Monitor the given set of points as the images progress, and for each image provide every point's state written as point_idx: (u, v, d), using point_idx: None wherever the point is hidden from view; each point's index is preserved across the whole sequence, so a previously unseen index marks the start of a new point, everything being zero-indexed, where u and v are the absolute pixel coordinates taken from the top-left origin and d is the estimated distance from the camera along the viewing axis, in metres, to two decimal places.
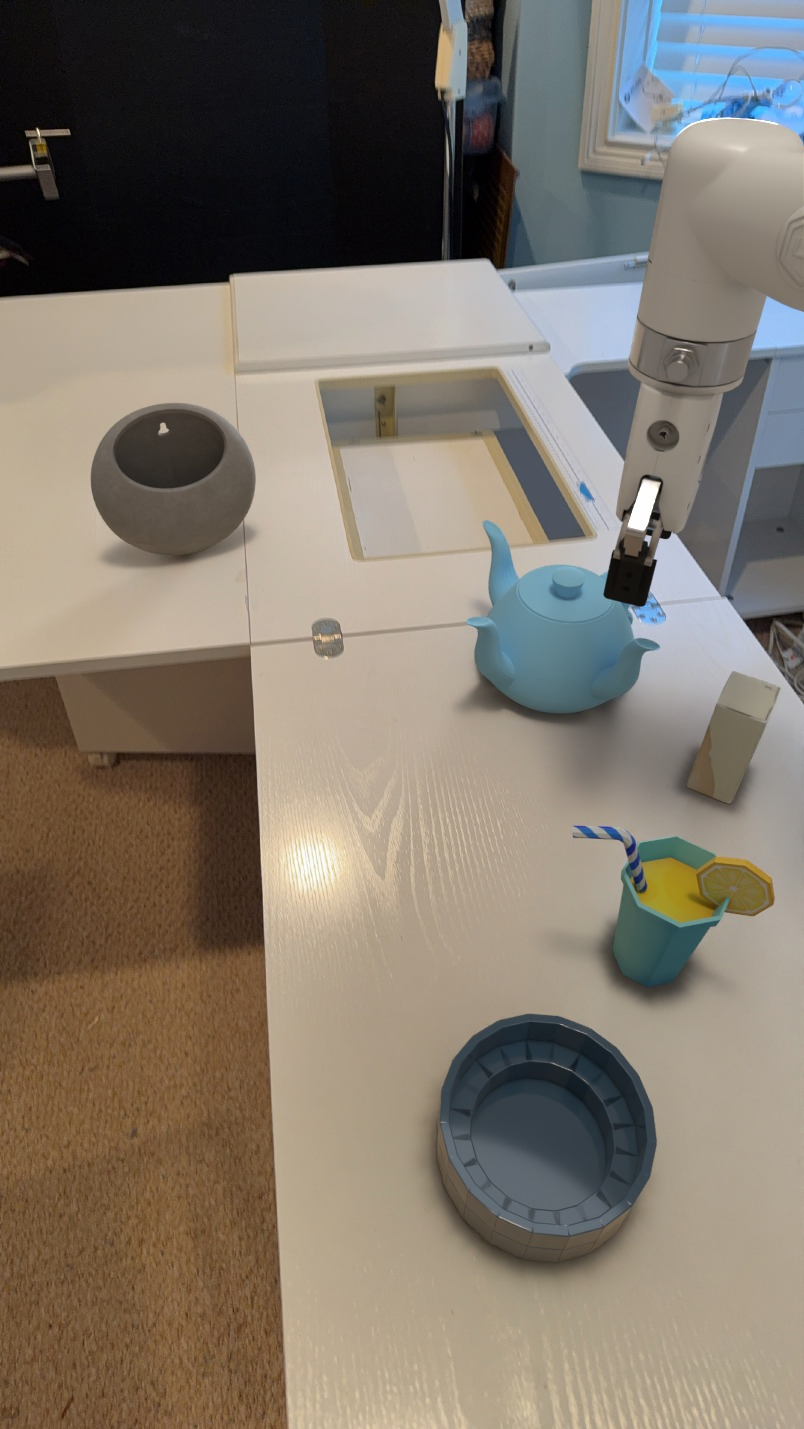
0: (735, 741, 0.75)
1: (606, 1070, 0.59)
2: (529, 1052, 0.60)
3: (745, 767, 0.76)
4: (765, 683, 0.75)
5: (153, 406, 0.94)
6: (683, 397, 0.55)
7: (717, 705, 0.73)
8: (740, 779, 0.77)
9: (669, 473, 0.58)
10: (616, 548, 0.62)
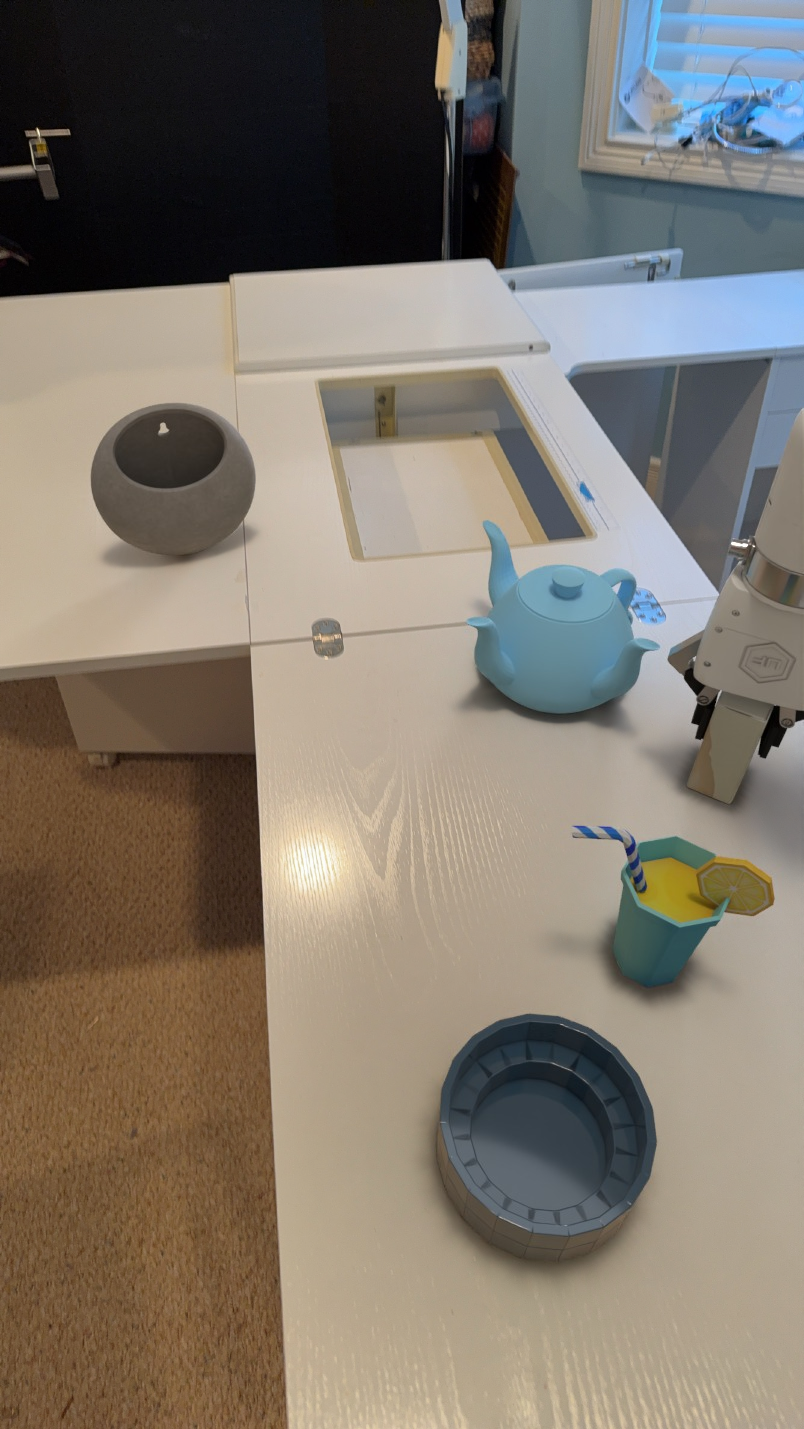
0: (735, 741, 0.75)
1: (606, 1070, 0.59)
2: (529, 1052, 0.60)
3: (745, 767, 0.76)
4: None
5: (153, 406, 0.94)
6: (736, 575, 0.67)
7: (717, 705, 0.73)
8: (740, 779, 0.77)
9: (707, 624, 0.70)
10: None
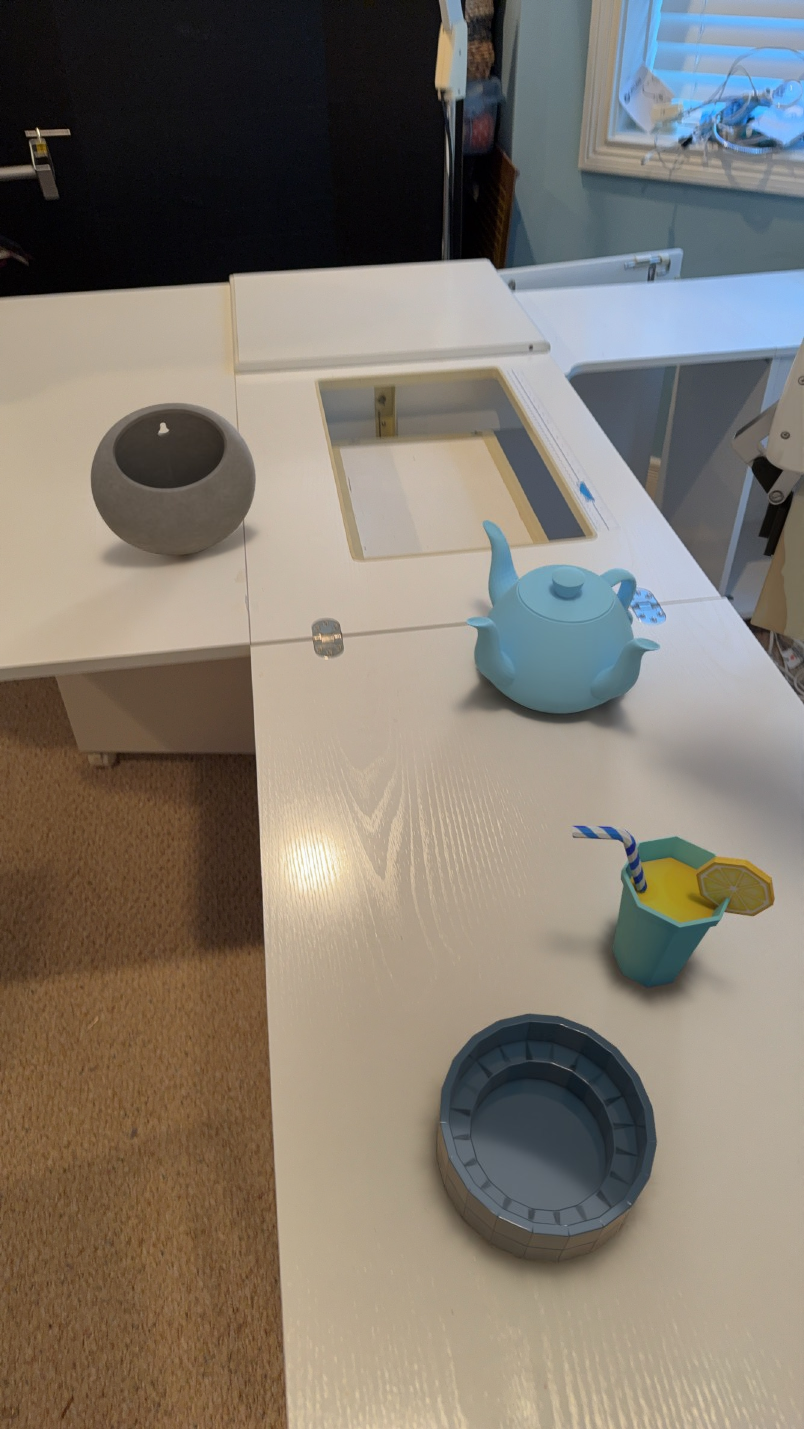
0: None
1: (606, 1070, 0.59)
2: (529, 1052, 0.60)
3: None
4: None
5: (153, 406, 0.94)
6: None
7: (795, 498, 0.58)
8: None
9: (785, 383, 0.55)
10: None
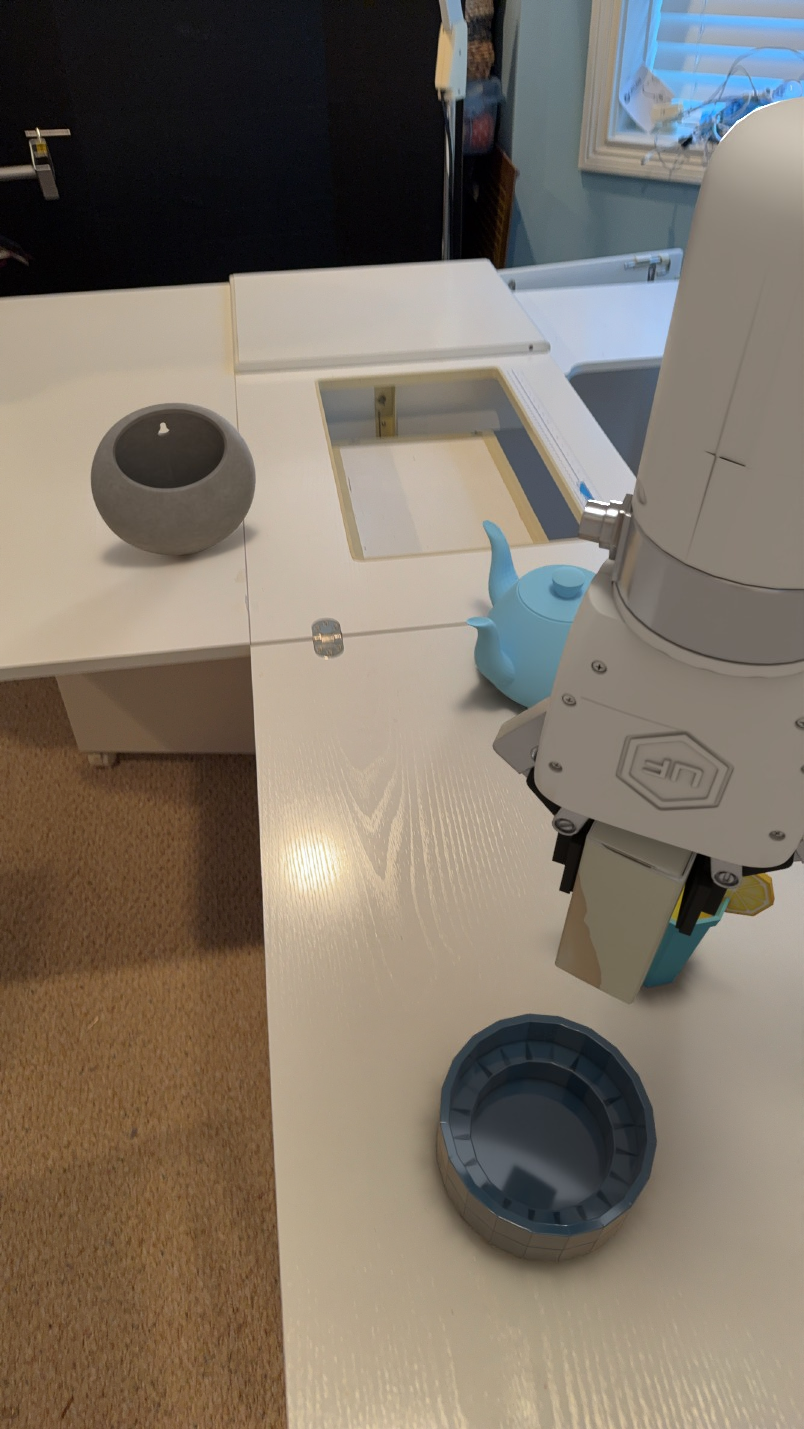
0: (629, 908, 0.38)
1: (606, 1070, 0.59)
2: (529, 1052, 0.60)
3: (651, 951, 0.39)
4: None
5: (153, 406, 0.94)
6: (600, 583, 0.30)
7: (588, 840, 0.37)
8: (644, 969, 0.40)
9: None
10: None
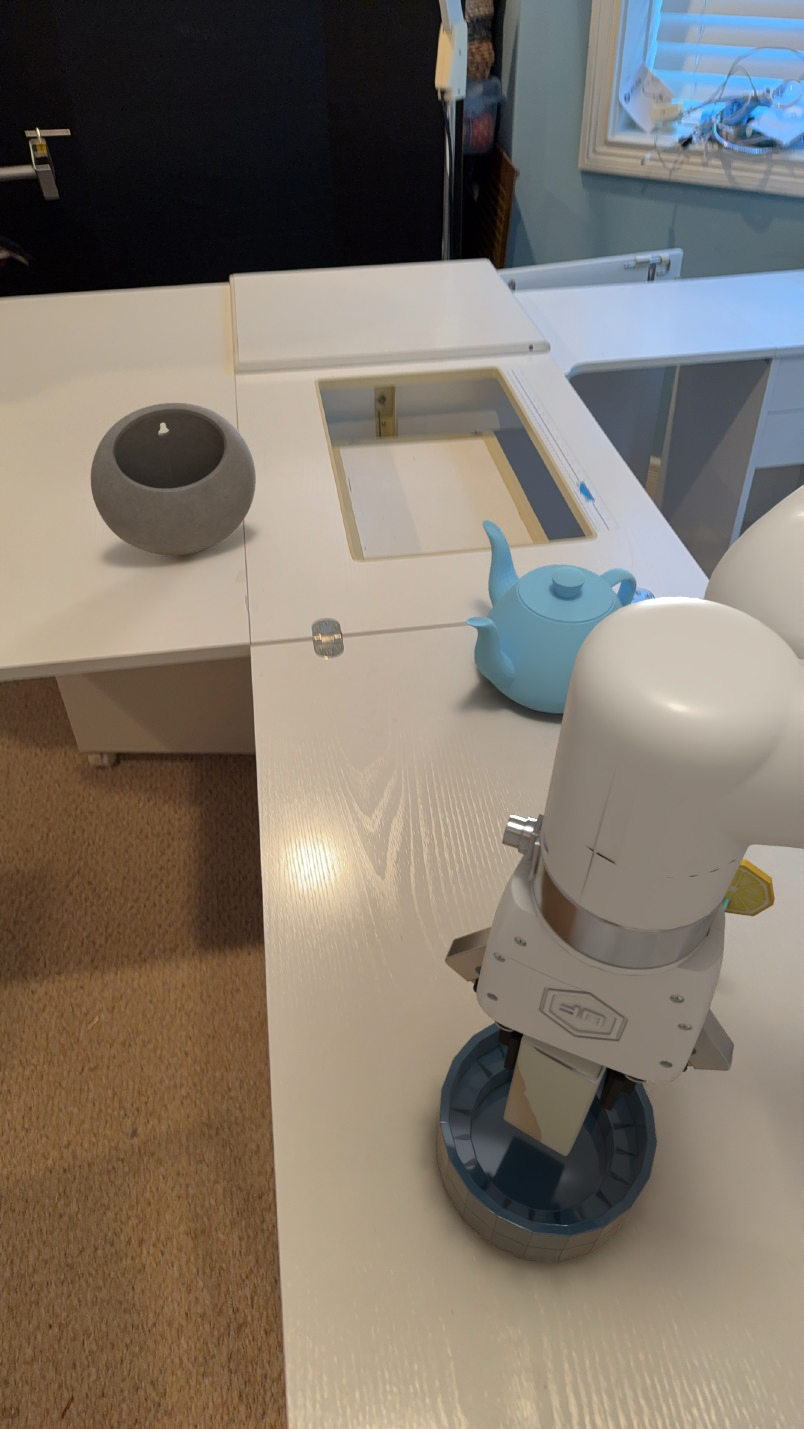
0: (558, 1092, 0.46)
1: (606, 1070, 0.59)
2: None
3: (578, 1124, 0.47)
4: None
5: (153, 406, 0.94)
6: (521, 875, 0.38)
7: (522, 1043, 0.45)
8: (574, 1134, 0.48)
9: None
10: None
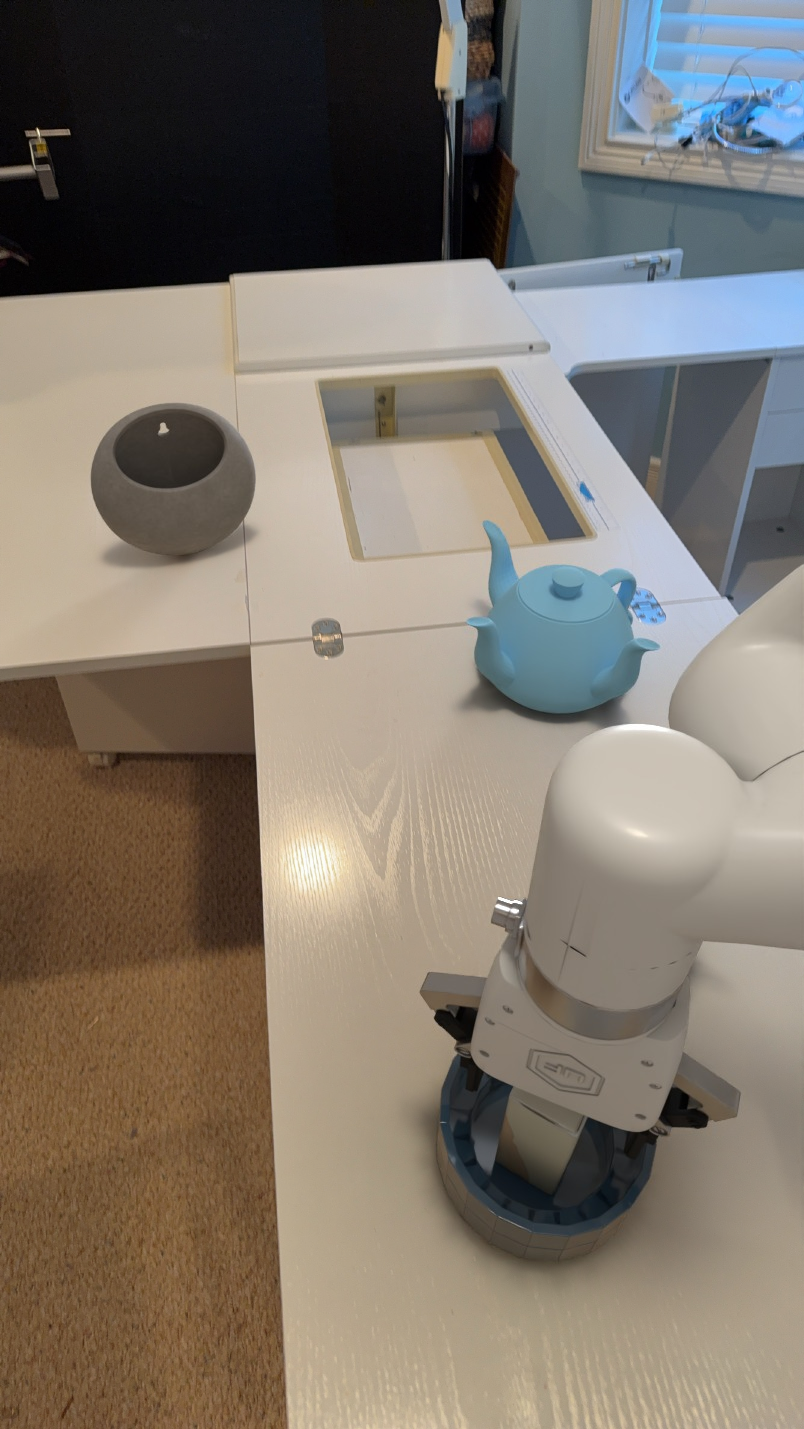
0: (543, 1142, 0.51)
1: None
2: None
3: (561, 1169, 0.52)
4: None
5: (153, 406, 0.94)
6: (508, 949, 0.42)
7: (510, 1099, 0.50)
8: (558, 1177, 0.53)
9: None
10: None
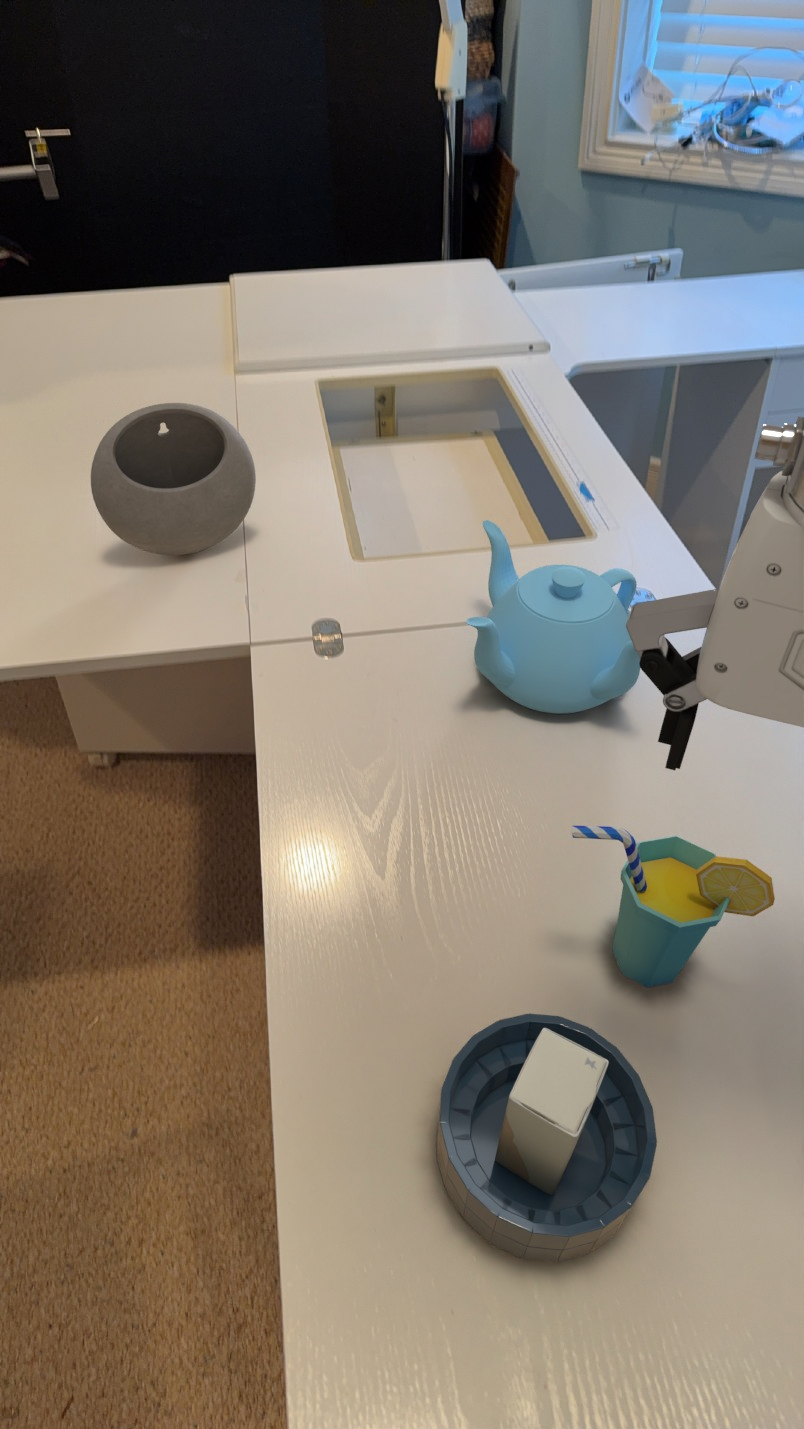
0: (543, 1142, 0.51)
1: (606, 1070, 0.59)
2: (529, 1052, 0.60)
3: (561, 1169, 0.52)
4: (587, 1054, 0.51)
5: (153, 406, 0.94)
6: (771, 498, 0.35)
7: (510, 1099, 0.50)
8: (558, 1177, 0.53)
9: (718, 596, 0.38)
10: None
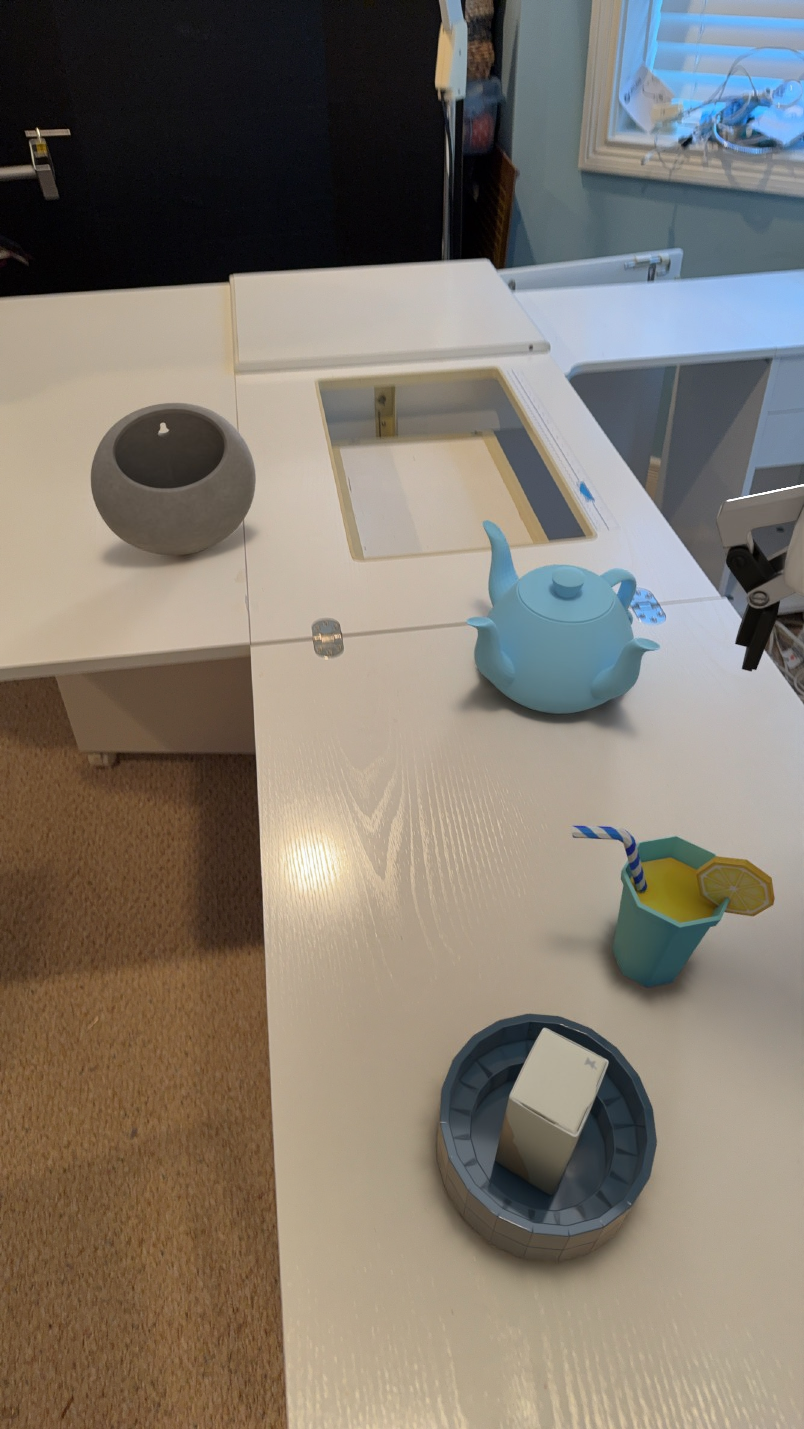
0: (543, 1142, 0.51)
1: (606, 1070, 0.59)
2: (529, 1052, 0.60)
3: (561, 1169, 0.52)
4: (587, 1054, 0.51)
5: (153, 406, 0.94)
6: None
7: (510, 1099, 0.50)
8: (558, 1177, 0.53)
9: None
10: None
